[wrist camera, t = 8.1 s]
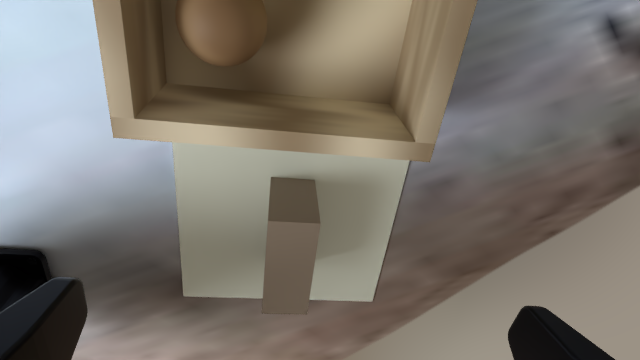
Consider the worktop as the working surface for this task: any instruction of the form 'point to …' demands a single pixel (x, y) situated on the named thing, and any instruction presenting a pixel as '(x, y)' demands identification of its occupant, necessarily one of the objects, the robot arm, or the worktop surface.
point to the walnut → (222, 29)
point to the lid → (283, 223)
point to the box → (290, 77)
